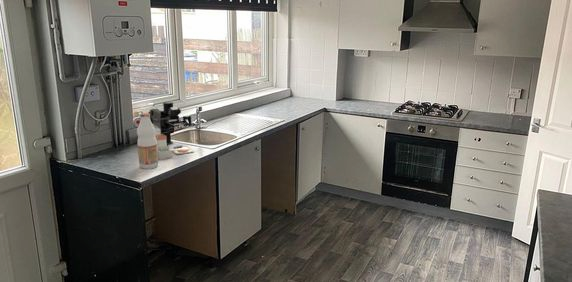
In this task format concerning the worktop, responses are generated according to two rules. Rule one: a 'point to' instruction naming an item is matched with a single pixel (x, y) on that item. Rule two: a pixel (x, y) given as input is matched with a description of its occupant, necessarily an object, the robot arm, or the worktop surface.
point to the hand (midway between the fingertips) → (181, 125)
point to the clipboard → (181, 150)
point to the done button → (163, 148)
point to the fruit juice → (147, 143)
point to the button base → (164, 154)
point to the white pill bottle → (161, 140)
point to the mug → (157, 131)
